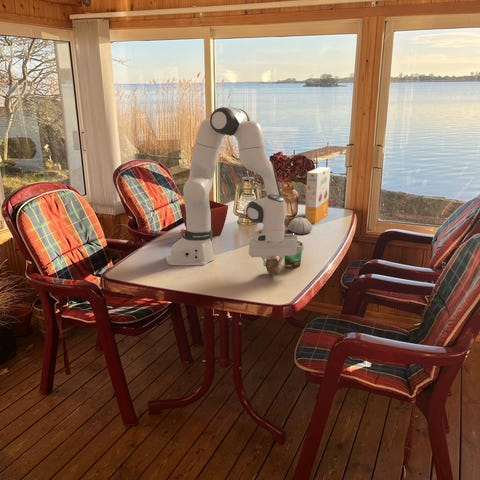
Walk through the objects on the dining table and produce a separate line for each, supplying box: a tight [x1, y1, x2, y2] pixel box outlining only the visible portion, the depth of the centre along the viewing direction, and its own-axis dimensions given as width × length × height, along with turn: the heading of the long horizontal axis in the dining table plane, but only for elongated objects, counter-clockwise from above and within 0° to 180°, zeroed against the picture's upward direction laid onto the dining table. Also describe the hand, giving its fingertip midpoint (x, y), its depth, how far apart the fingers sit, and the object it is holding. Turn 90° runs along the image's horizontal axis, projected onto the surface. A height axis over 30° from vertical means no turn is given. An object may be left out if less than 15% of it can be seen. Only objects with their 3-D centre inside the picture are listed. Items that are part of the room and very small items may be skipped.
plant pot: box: [179, 199, 229, 238], centre depth 254 cm, size 19×19×17 cm
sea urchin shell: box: [287, 216, 313, 235], centre depth 263 cm, size 13×14×8 cm
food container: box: [283, 240, 305, 269], centre depth 211 cm, size 12×6×10 cm, turn 148°
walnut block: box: [265, 256, 280, 275], centre depth 200 cm, size 4×8×5 cm, turn 6°
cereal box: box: [304, 166, 331, 225], centre depth 285 cm, size 22×6×30 cm, turn 151°
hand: (272, 265), depth 200 cm, fingers closed on walnut block, 4 cm apart
